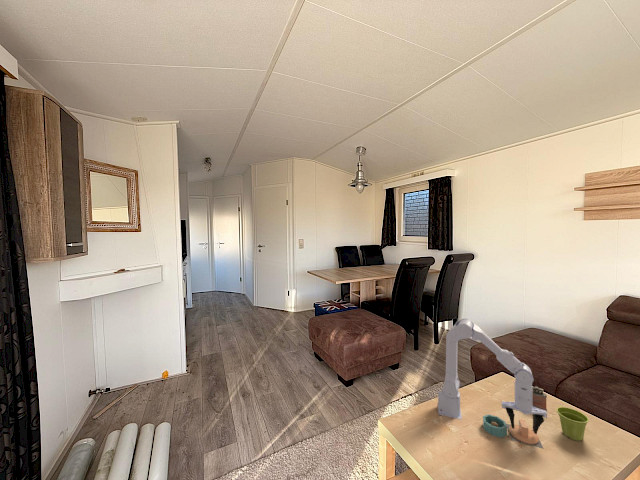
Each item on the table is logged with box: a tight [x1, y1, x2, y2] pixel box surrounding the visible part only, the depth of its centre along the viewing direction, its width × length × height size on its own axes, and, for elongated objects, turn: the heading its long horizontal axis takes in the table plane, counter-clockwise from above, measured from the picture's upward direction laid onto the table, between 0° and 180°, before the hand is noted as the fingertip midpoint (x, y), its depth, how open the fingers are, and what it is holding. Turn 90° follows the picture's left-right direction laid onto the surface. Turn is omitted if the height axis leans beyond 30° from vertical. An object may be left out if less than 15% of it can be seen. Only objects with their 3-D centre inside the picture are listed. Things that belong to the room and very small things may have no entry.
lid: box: [508, 418, 540, 446], centre depth 106 cm, size 10×10×5 cm
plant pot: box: [556, 406, 590, 442], centre depth 106 cm, size 9×9×9 cm
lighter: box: [532, 385, 548, 413], centre depth 123 cm, size 8×3×10 cm, turn 58°
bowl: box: [482, 414, 508, 438], centre depth 109 cm, size 8×8×4 cm
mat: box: [506, 423, 545, 449], centre depth 106 cm, size 10×10×1 cm
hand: (523, 429), depth 106 cm, fingers open, 7 cm apart
